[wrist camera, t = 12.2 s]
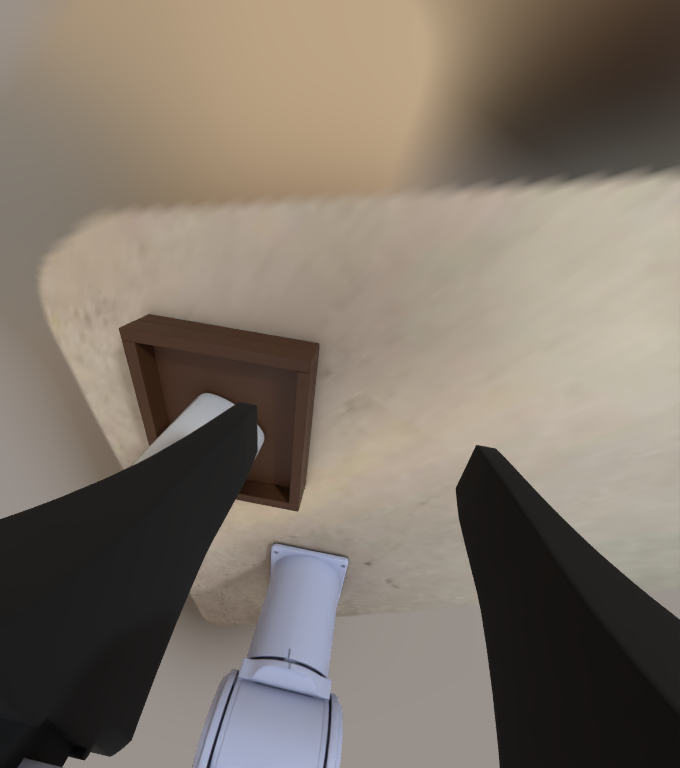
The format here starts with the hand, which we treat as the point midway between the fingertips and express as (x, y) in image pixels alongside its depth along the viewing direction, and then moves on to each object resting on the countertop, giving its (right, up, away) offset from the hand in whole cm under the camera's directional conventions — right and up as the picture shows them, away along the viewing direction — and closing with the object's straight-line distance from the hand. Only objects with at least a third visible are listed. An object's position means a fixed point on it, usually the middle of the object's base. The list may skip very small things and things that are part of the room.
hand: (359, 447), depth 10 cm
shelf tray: (-9, 0, +13) cm, 16 cm away
